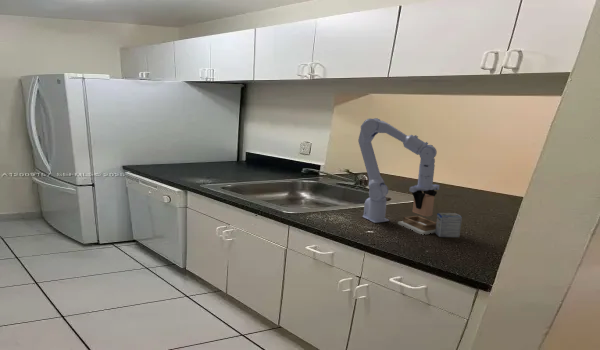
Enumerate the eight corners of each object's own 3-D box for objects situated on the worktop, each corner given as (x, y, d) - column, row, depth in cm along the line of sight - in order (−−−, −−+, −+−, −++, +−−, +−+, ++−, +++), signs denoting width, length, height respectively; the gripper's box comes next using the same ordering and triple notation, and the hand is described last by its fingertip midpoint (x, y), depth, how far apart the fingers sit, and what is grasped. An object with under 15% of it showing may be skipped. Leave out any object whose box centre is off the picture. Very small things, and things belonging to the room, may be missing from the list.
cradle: (397, 223, 149) (398, 217, 149) (418, 220, 155) (419, 214, 154) (422, 234, 137) (423, 227, 137) (444, 231, 142) (445, 224, 142)
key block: (425, 216, 141) (427, 197, 139) (412, 211, 147) (414, 193, 145) (432, 215, 143) (434, 196, 141) (419, 210, 149) (421, 192, 147)
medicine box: (454, 233, 140) (456, 212, 138) (459, 237, 136) (462, 216, 134) (434, 233, 140) (437, 212, 138) (439, 237, 135) (442, 215, 134)
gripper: (419, 178, 135) (416, 212, 138) (446, 176, 141) (443, 208, 144) (406, 174, 141) (403, 207, 144) (433, 173, 148) (429, 204, 150)
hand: (422, 207), depth 144 cm, fingers closed on key block, 4 cm apart
